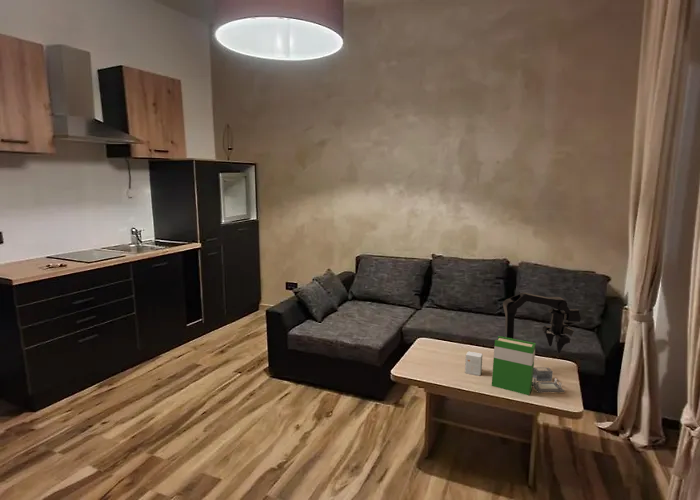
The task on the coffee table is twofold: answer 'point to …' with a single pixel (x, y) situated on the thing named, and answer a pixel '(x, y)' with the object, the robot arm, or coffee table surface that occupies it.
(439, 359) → the coffee table surface
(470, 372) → the small box
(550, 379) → the drive
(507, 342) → the hardback book
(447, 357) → the coffee table surface
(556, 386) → the panel with knobs
